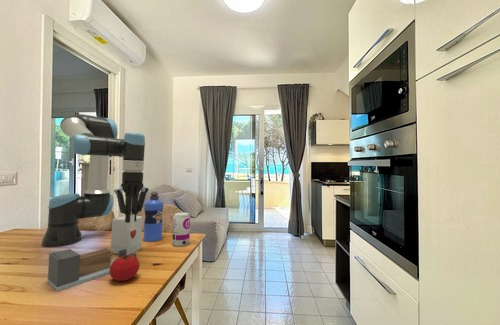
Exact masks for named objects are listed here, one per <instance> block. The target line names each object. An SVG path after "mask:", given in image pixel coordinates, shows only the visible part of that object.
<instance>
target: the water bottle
mask: <svg viewBox="0 0 500 325" xmlns="http://www.w3.org/2000/svg"><path fill="white" fill-rule="evenodd" d="M159 198H160V197H159V193H158V191H152V192H151V193H150V196H149V200H148V201H146V202H144V204H143V207H144V223H143V238H142V239H143V240H142V241H144V242H146V241H147V243H153V241H155V242H158V241H159V242H160V241H161V240H162V239H163V224H164V223H163V212H164V202H163V201H161V200H159Z"/></svg>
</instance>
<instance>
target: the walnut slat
mask: <svg viewBox="0 0 500 325" xmlns="http://www.w3.org/2000/svg"><path fill="white" fill-rule="evenodd" d="M79 255H80V265H79V277H82V276H85V275H88V274H91V273H94V272H98V271H101V270H104V269H107V268H110V266H111V260H112V253H111V249H109V248H107V247H105V248H102V249H97V250H94V251H89V252H86V253H82V254H79Z"/></svg>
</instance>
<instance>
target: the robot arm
mask: <svg viewBox="0 0 500 325" xmlns="http://www.w3.org/2000/svg"><path fill="white" fill-rule="evenodd" d="M59 125H60V130H61V132H62V133H63V134H64V135H65V136H67V137H69V138H70V152H71V153H72V154H75V155H82V156H89V165H88V168H89V169H88V181H87V189H86V190H85V191H84V192H83V195H81V196H80V194H79V193H67V194H61V195H57V196H53V197H51V198H50V199H49V201H48V207H47V209H48V217H47V229H46V231H45V233H44V235H43V237H42V240H41V246H43V247H44V248H45V247H46V248H48V247H49V248H52V247H62V246H68V245H72V244H77V243H78V242H81V241H82V237H83V235H82V232H81V230H80V226H79V220H81V219H82V220H83V219H89V218H100V217H104V216H108V215H110V213H112V210H113V206H114V196H113V195H112V194H111V191H109V189H108V174H109V173H108V172H109V160H110V159H109V158H110V157H118V158H122V173H121V176H122V177H121V184H120V187H118V188H116V189H114V194H115V195H116V198H117V202H118V207H119V212H120V213H121V214H123V215H124V216H125V222H126V223H127V230H128V231H134V222H135V221H136V216H138V214H139V212H142V211H143V207H144V203H145V200H146V195H147V193H148V192H149V190H150V189H149V188H148V187H145V186H144V183H143V182H144V172H143V171H144V168H145V166H144V163H145V162H144V161H145V148H146V147H145V146H146V137H145V135H144V134H143V133H137V132H125V133H124V136H123V138H118V126H117V123H116V121H115V120H113V118H112V119H111V118H107V117H100V116H95V115H90V114H82V113H74V114H71V115H67V116H65V117H63V119H62V120H61V121H60V124H59ZM123 193H124V195H123ZM124 197H125V198H124Z"/></svg>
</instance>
